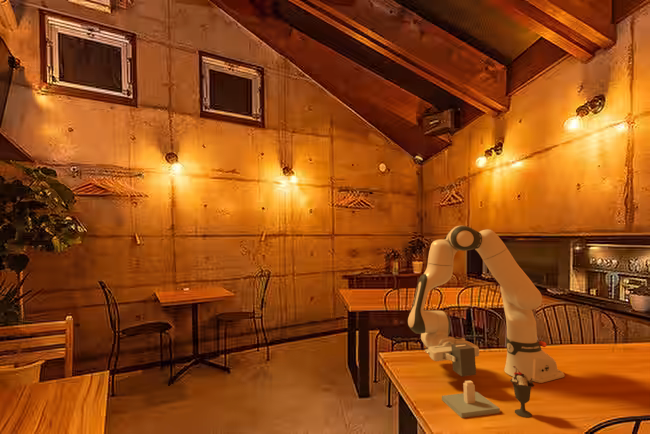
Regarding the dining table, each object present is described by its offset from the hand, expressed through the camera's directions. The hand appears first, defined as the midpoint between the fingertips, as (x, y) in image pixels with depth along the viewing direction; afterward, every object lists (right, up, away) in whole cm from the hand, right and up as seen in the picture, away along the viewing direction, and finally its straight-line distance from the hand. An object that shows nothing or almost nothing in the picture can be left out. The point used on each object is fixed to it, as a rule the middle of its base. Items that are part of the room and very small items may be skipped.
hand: (464, 358), depth 129 cm
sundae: (+11, -10, -19) cm, 24 cm away
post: (-4, -11, -14) cm, 18 cm away
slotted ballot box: (0, -6, +1) cm, 6 cm away
